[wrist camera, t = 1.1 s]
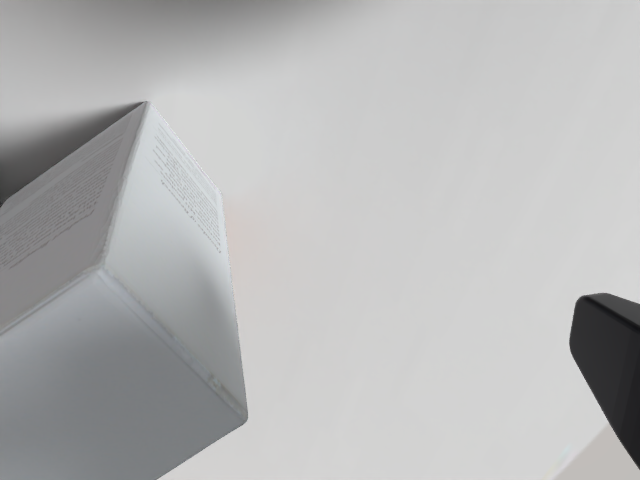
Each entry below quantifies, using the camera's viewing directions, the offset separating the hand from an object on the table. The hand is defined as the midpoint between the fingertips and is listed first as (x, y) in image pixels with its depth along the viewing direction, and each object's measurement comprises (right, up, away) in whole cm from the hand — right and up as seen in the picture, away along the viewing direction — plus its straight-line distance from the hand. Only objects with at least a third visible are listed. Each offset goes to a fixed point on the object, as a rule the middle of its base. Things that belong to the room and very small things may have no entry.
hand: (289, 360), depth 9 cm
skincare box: (-6, +3, +12) cm, 14 cm away
